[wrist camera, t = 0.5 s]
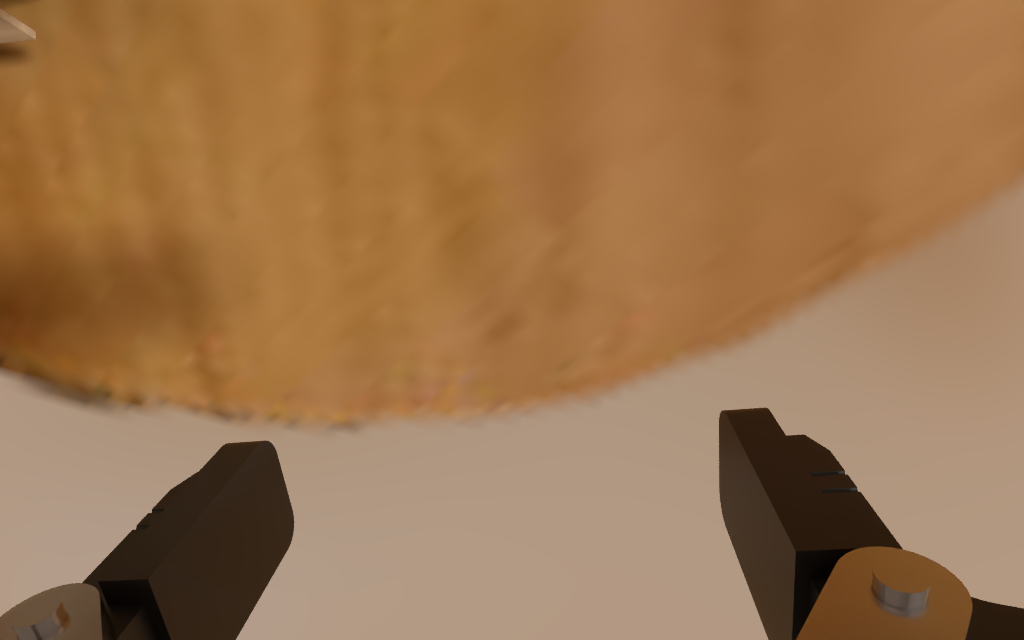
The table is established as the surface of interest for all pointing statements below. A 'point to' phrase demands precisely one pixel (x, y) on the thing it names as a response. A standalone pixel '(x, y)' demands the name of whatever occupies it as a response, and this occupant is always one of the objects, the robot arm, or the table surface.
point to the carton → (14, 29)
